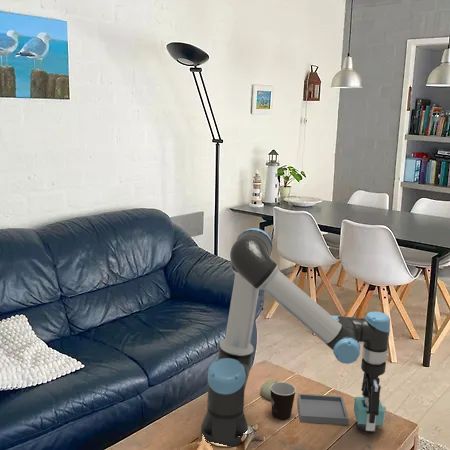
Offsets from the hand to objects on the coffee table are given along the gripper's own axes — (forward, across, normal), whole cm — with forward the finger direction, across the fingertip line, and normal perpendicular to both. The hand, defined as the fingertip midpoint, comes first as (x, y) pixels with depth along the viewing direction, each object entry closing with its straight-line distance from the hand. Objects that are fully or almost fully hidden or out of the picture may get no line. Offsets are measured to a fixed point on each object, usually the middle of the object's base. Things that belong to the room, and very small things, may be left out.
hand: (367, 422), depth 176 cm
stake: (+2, 0, 0) cm, 2 cm away
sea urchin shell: (+3, +17, +31) cm, 35 cm away
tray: (+2, +8, +14) cm, 16 cm away
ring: (-2, 0, 0) cm, 2 cm away
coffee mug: (+2, +6, +28) cm, 29 cm away
